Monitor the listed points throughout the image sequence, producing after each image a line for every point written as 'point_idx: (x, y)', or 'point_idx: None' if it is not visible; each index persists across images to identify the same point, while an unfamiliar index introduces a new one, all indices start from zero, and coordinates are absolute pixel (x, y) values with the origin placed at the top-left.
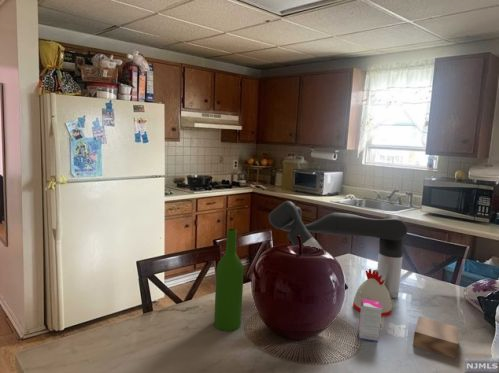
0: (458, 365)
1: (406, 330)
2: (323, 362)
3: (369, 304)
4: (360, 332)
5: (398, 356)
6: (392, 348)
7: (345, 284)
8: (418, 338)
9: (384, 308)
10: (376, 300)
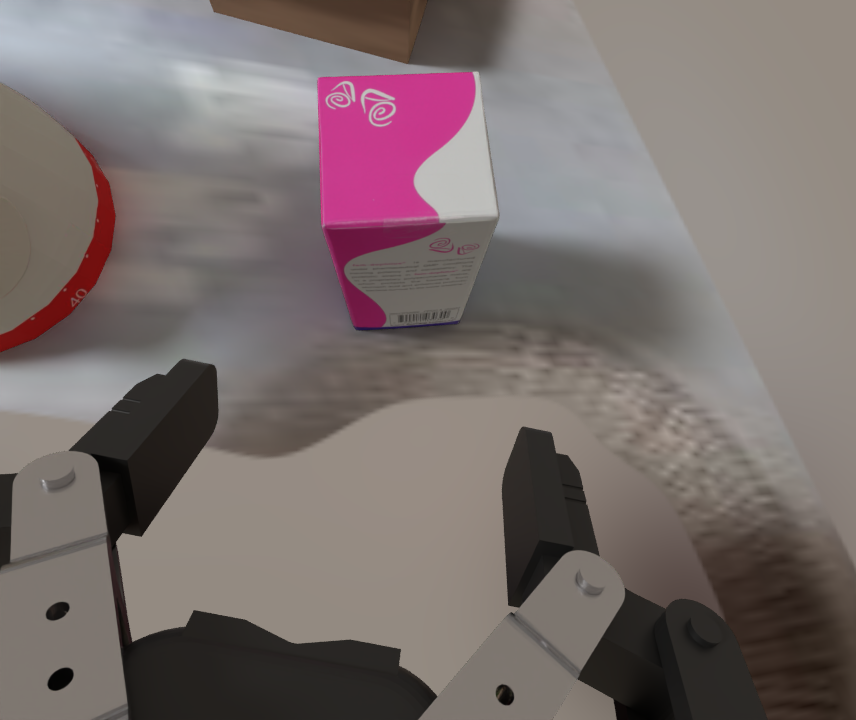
0: None
1: (248, 67)
2: (775, 514)
3: (439, 164)
4: (463, 308)
5: (546, 144)
6: None
7: (185, 392)
8: (415, 4)
9: (57, 130)
10: (16, 152)
